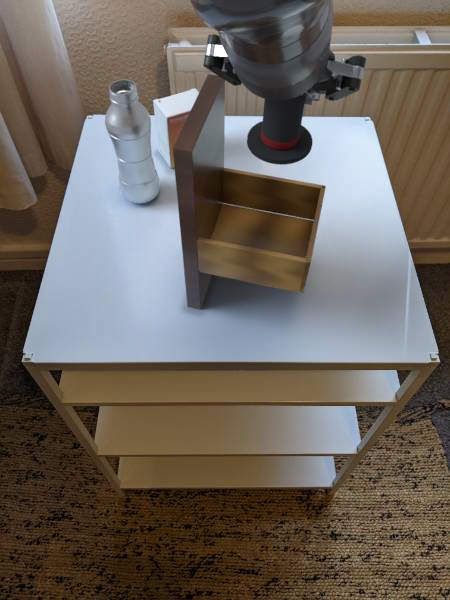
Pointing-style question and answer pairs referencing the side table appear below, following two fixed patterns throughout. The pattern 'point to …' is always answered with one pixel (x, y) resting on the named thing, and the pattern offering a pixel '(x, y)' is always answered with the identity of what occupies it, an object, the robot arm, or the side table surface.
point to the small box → (172, 120)
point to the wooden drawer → (237, 210)
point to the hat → (281, 133)
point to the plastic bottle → (132, 142)
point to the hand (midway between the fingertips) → (287, 90)
